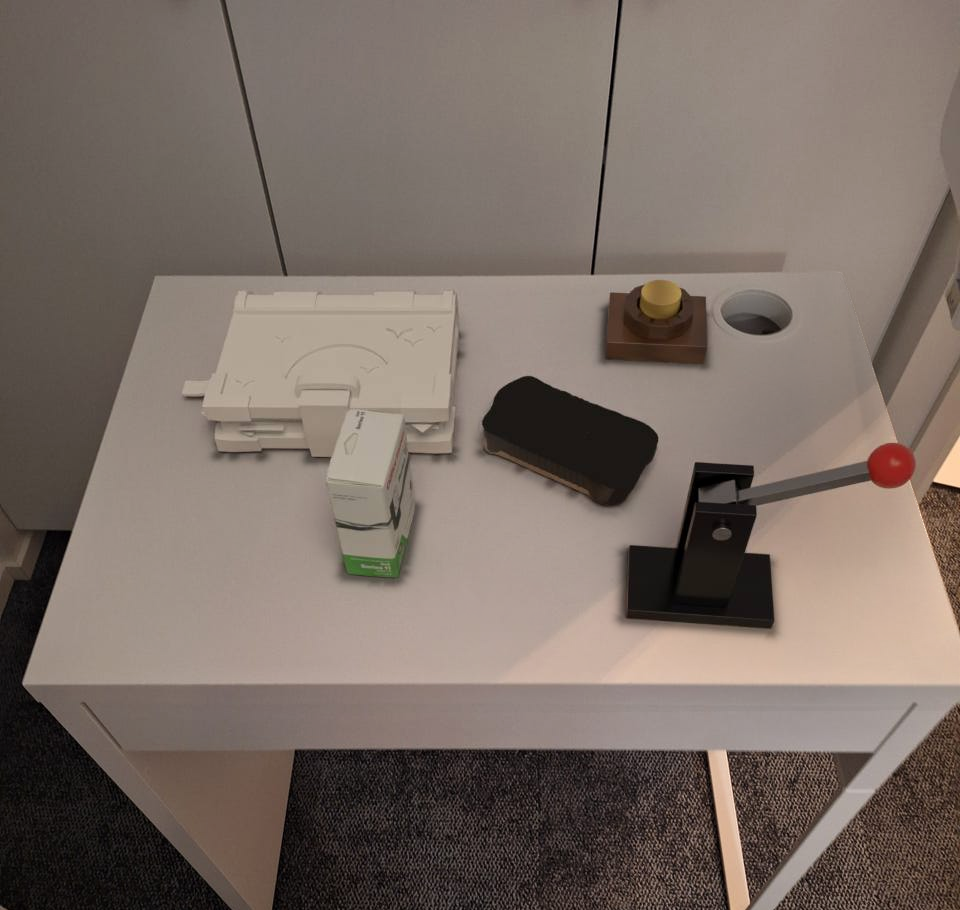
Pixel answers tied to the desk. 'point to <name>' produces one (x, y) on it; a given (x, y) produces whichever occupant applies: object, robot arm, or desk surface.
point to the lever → (822, 479)
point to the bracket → (705, 563)
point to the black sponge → (569, 439)
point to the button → (660, 299)
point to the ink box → (372, 491)
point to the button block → (656, 330)
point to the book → (333, 368)
